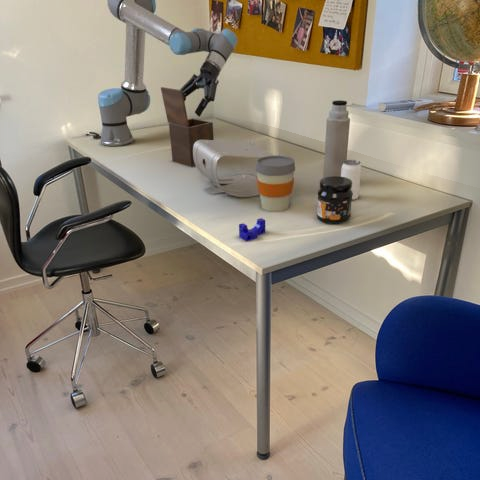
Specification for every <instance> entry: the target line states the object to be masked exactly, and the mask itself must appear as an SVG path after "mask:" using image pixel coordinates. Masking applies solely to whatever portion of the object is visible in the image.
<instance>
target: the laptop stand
mask: <svg viewBox="0 0 480 480" xmlns="http://www.w3.org/2000/svg"><path fill="white" fill-rule="evenodd" d="M250 140H251V142H250V141H237V140H236V141H233V140H216V139H214V140H198V141H196V142H195V143H194V146H193V158H194V162H195V165H196V166H195V168H196V169H197V170H198V172H199V173H200V174H201V175H203V176H204V177H205V178H206V179H207V180H209V181H210V182H211V183H213V184H214V185H215V186H210V187H207V188H206V191H208V192H209V193H210V194H212V195H219V194H225V193H226V194H227V195H229V196H231V197H237V198H253V197H258V196H259V197H260V194H259V192H258V185H257V177H258V176H255V175H252V174H247V173H246V174H238V175H237V174H236V175H230V176H224V177H220V176H219V177H218V162H219V160H220V159H221V158H223V157H230V158H231V157H234V158H251V159H259V158H262V157H266V156H280V153H279V152H278V151H277V152H276V154H275V155H274V154H273V153H271V152H269V151H267V150H265V149H264V148H261V147H260V146H258V145H256V144H255V140H254V139H250ZM203 159H205V163H203ZM204 164H205V165H204Z"/></svg>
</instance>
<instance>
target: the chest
mask: <svg viewBox="0 0 480 480" xmlns="http://www.w3.org/2000/svg"><path fill="white" fill-rule="evenodd" d="M188 123H189V127H185V126H181V125H176V124H172V123H168V129H169V139H170V150H171V160H172V161H171V162H174V163H177V164H180V165H183V166H187V167H190V168H192V167H196V165H195V162H194V158H193V146H194V143H195V142H196V141H198V140H215V138H214V122H213V121H208V120H203V119H199V118H194V117H192V118H188ZM203 164H206V163H205V159H203Z"/></svg>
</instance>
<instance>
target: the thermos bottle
mask: <svg viewBox="0 0 480 480" xmlns="http://www.w3.org/2000/svg"><path fill="white" fill-rule="evenodd" d="M331 104H332V105H331V110H330V111H329V113H328V117H327V118H326V123H325V124H326V125H325V126H326V127H325V140H324V142H325V143H324V160H323V175H322V176H323V177H322V179H323V178H325V177H332V176H339V177H341V168H342V165H343V162H344V161H346V160H348V150H349V138H350V137H349V134H350V124H351V118H350V117H349V115H350V114H349V113H350V112H349V110H347V104H348V101H347V100H341V99H340V100H339V99H337V100H332V103H331Z"/></svg>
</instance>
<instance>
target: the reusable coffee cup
mask: <svg viewBox="0 0 480 480" xmlns="http://www.w3.org/2000/svg"><path fill="white" fill-rule="evenodd" d="M295 163H296V162H295V159H294V158H292V157H290V156H285V155H279V156H276V155H275V156H266V157H262V158H257V160H256V163H255V165H256V166H255V172H256V174H257V175H256V177H257V185H258V192H259V194H260V195H259V198H260V206H261V208H262V209H263V210H265V211H268V212H282V211H286V210H287V209H288V208H289V206H290V200H291V194H292V193H293V189H294V182H295V178H294V173H295V171H296V164H295Z"/></svg>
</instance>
